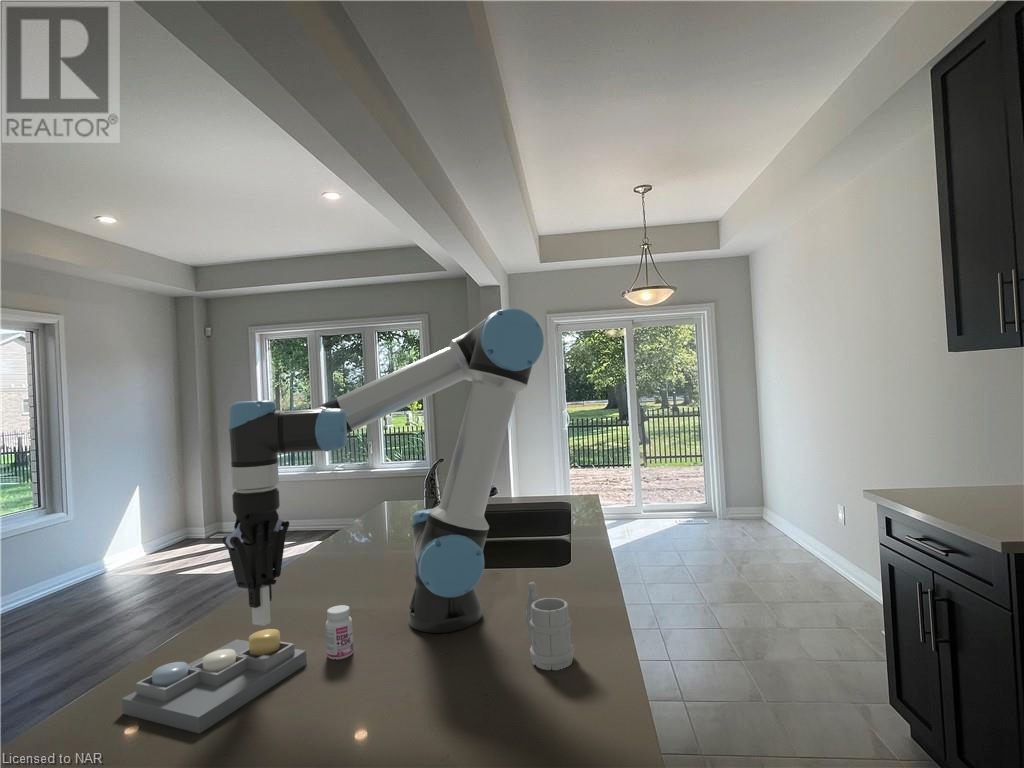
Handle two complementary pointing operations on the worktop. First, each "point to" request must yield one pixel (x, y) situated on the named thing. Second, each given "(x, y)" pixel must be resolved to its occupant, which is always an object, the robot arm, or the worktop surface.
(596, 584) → the worktop surface
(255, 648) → the ochre button
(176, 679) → the slate button
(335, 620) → the pill bottle
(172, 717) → the panel
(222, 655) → the ivory button
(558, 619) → the mug
